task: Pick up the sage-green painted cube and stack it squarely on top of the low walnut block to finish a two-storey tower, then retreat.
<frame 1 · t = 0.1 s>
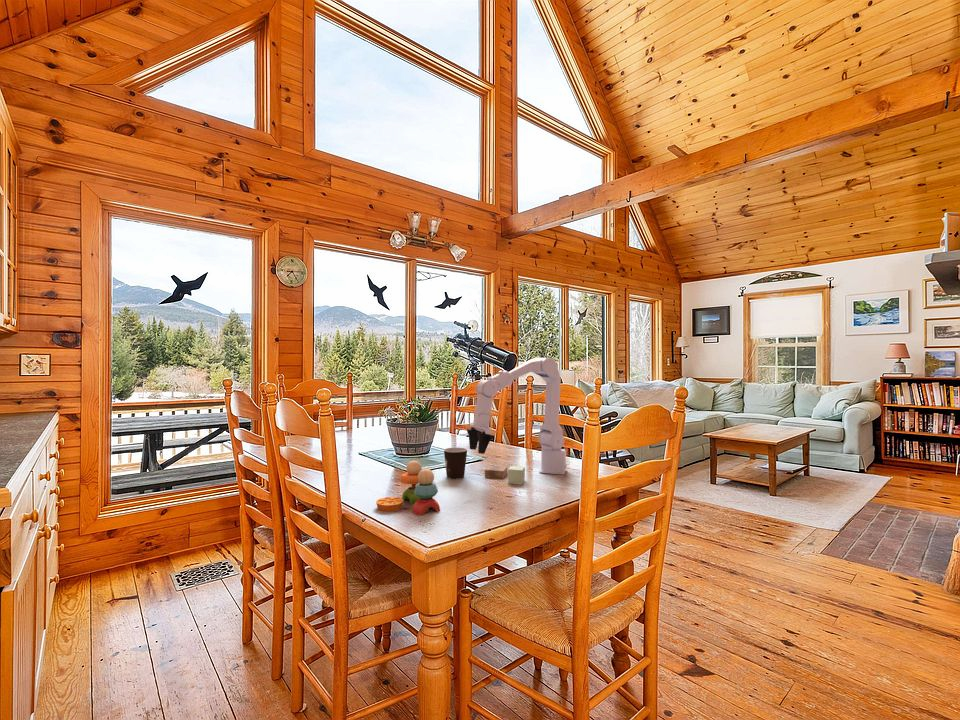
hand: (476, 451, 173), 10 cm above the table, tool pointing down, fingers open, 7 cm apart
stacking toy: (410, 508, 144), on the table
green cube: (516, 482, 172), on the table
coffee mug: (456, 476, 180), on the table
walnut block: (496, 476, 181), on the table
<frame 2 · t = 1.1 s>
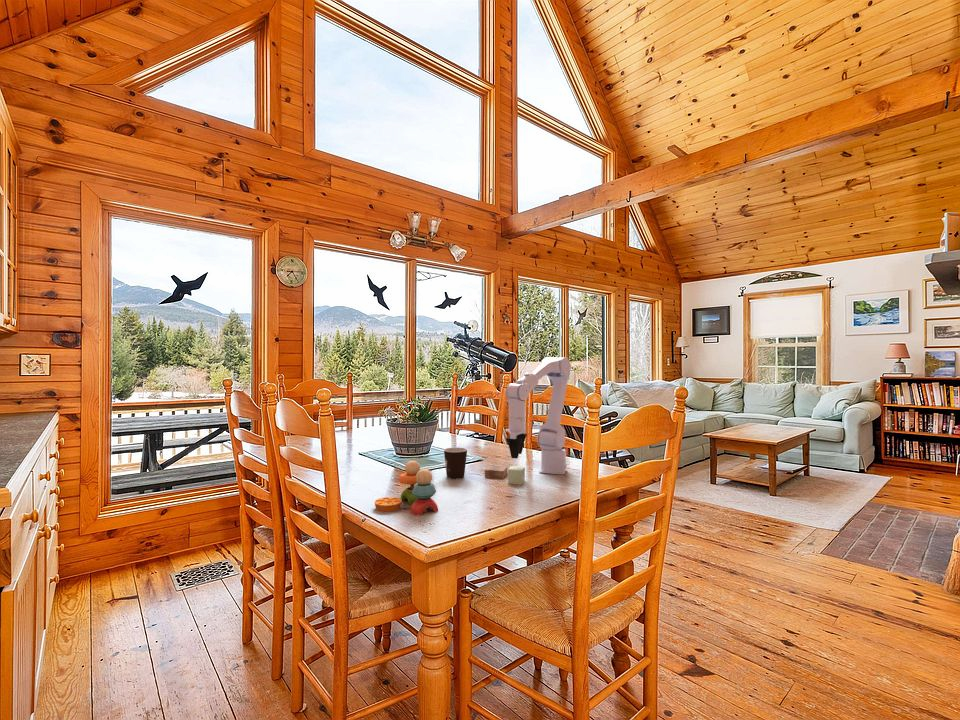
hand: (516, 455, 172), 9 cm above the table, tool pointing down, fingers open, 7 cm apart
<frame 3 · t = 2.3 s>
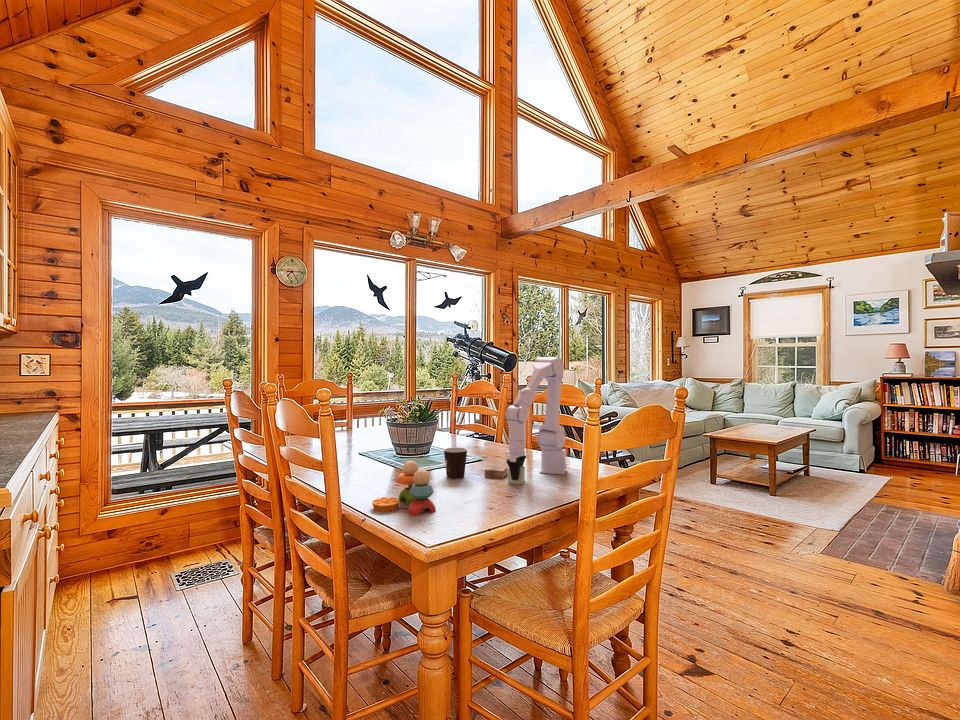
hand: (516, 477, 172), 1 cm above the table, tool pointing down, fingers closed on green cube, 5 cm apart
green cube: (516, 481, 172), on the table, touching gripper
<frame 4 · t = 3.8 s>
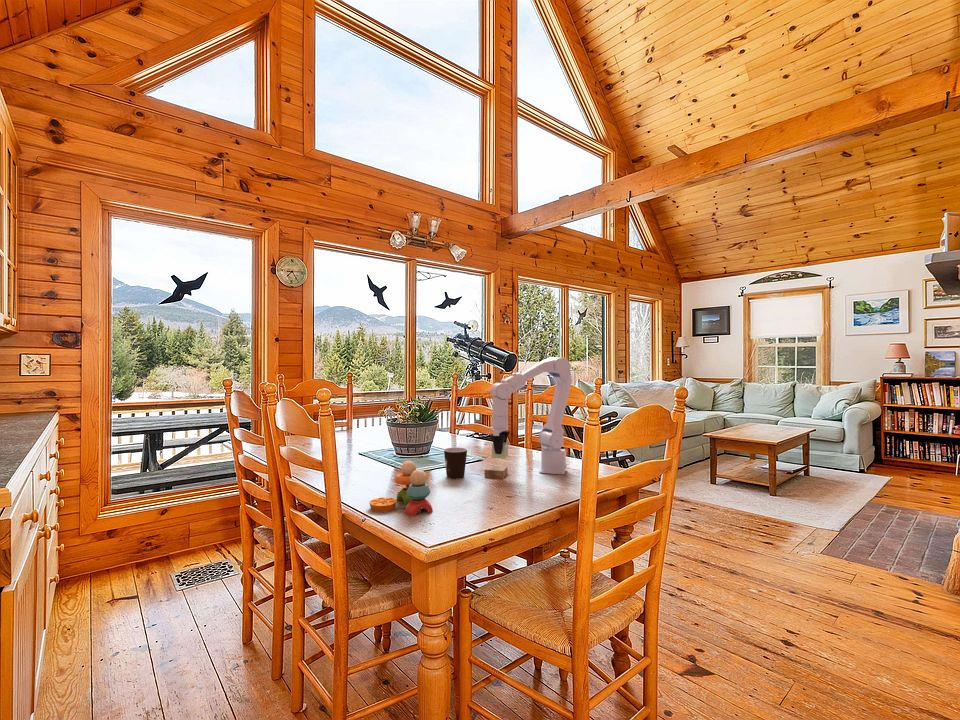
hand: (499, 452, 179), 9 cm above the table, tool pointing down, fingers closed on green cube, 5 cm apart
green cube: (500, 456, 179), point 7 cm above the table, touching gripper
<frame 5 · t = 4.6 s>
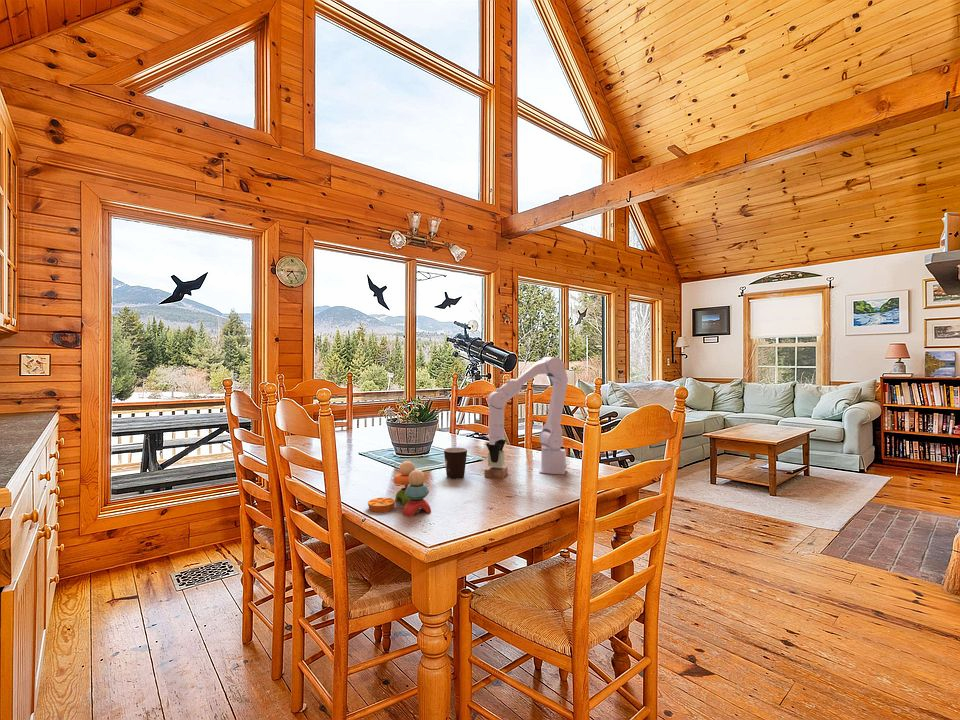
hand: (496, 460, 181), 5 cm above the table, tool pointing down, fingers closed on green cube, 5 cm apart
green cube: (496, 465, 181), point 4 cm above the table, touching gripper
when the fingers open (5 cm above the table, at t = 5.2 s): green cube stays where it is, point 3 cm above the table.
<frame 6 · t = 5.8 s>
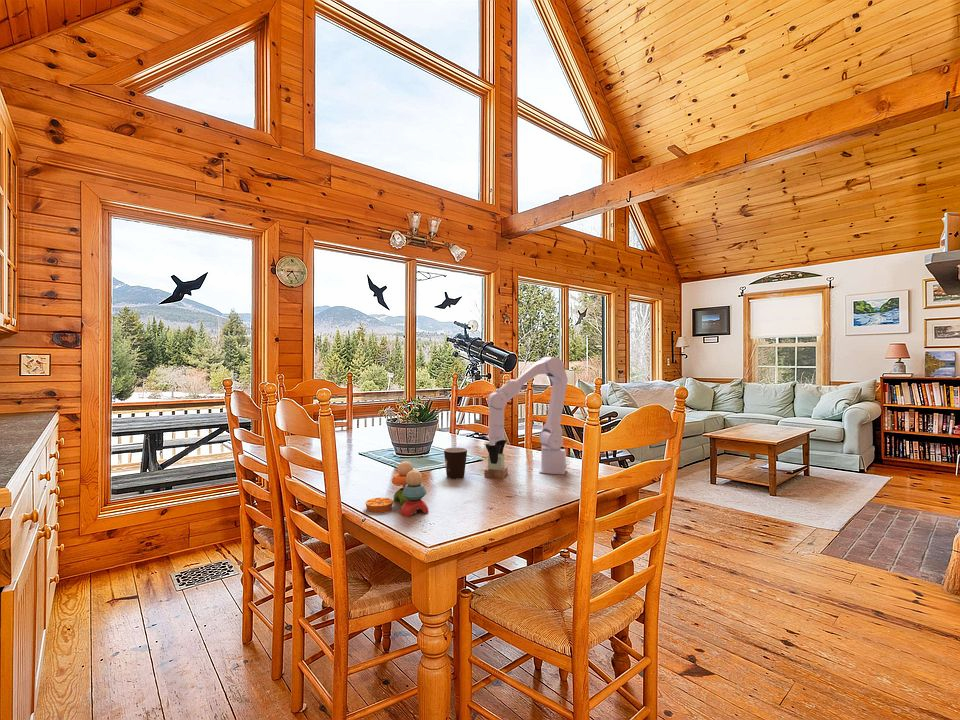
hand: (496, 461, 181), 5 cm above the table, tool pointing down, fingers open, 7 cm apart
green cube: (496, 468, 181), point 3 cm above the table
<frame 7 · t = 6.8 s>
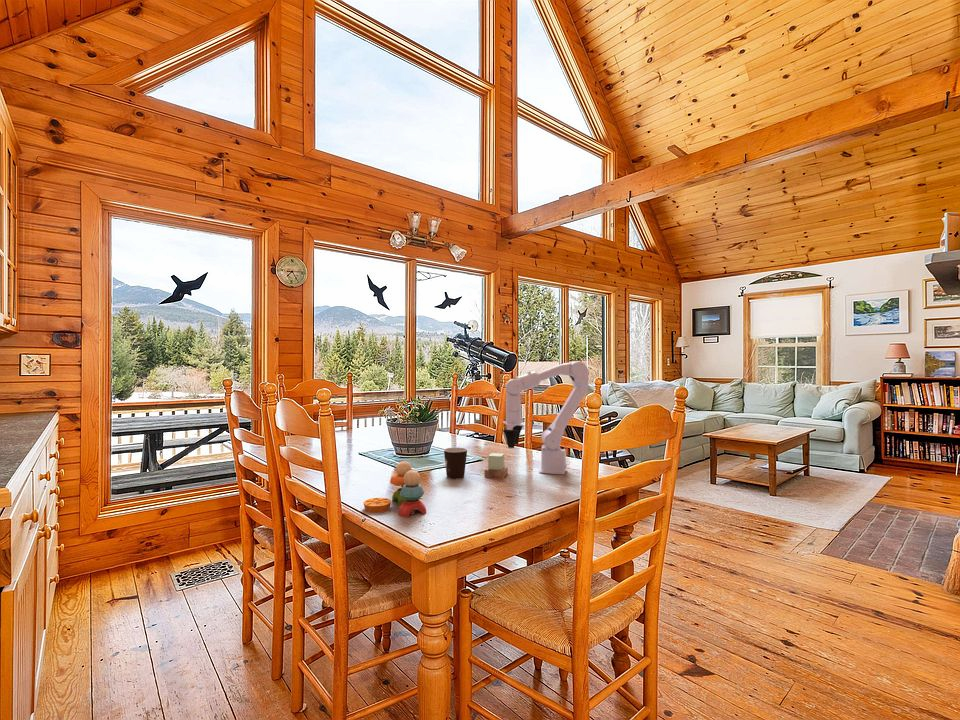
hand: (513, 445, 186), 10 cm above the table, tool pointing down, fingers open, 7 cm apart
green cube: (496, 468, 181), point 3 cm above the table, touching walnut block
walnut block: (496, 476, 181), on the table, touching green cube
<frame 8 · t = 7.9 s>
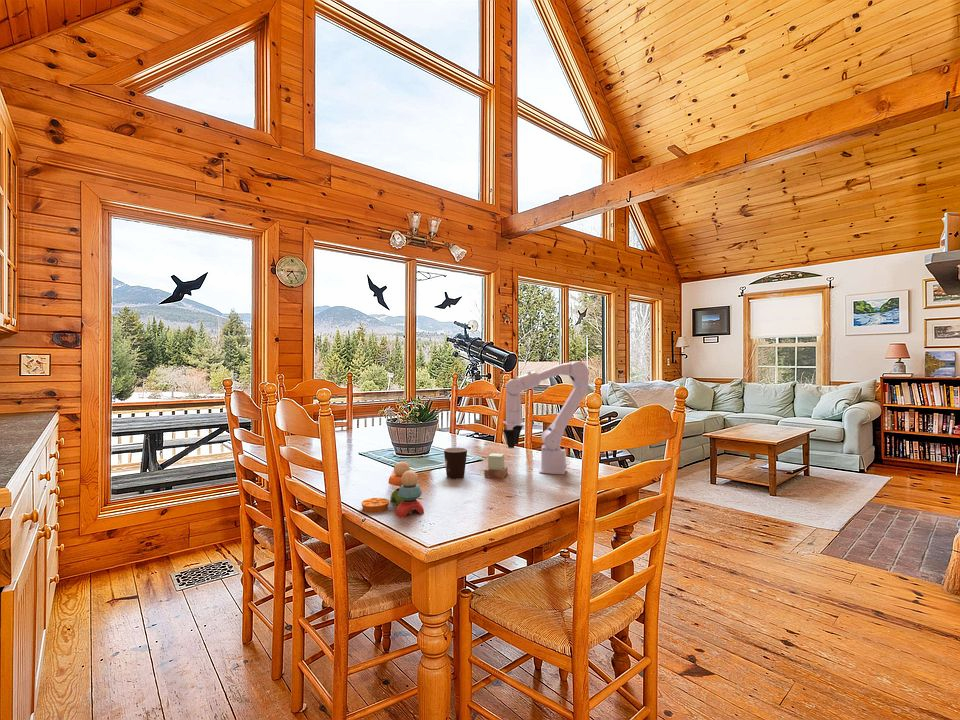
hand: (513, 445, 186), 10 cm above the table, tool pointing down, fingers open, 7 cm apart
at the end: green cube 0.3 cm off-centre on the walnut block, point 3.0 cm above the walnut block's base; green cube tilted 0°; the gripper is holding nothing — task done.
